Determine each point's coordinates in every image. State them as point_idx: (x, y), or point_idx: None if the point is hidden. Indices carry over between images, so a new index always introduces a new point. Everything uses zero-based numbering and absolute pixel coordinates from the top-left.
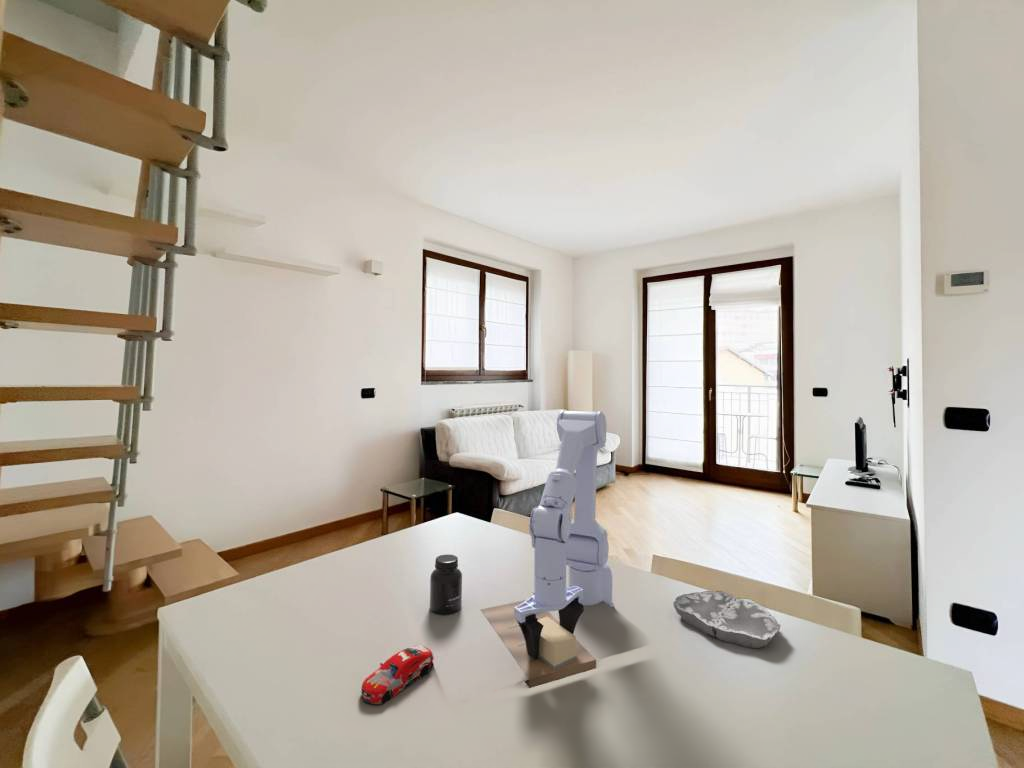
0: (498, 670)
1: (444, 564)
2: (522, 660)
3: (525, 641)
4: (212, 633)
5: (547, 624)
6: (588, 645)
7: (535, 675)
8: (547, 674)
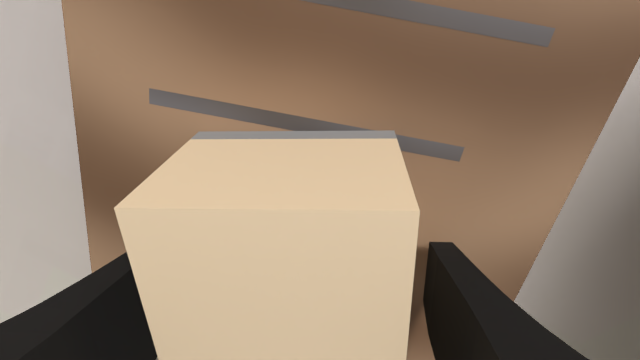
0: (19, 143)
1: None
2: (119, 227)
3: (88, 277)
4: None
5: (316, 313)
6: (591, 246)
7: None
8: None
